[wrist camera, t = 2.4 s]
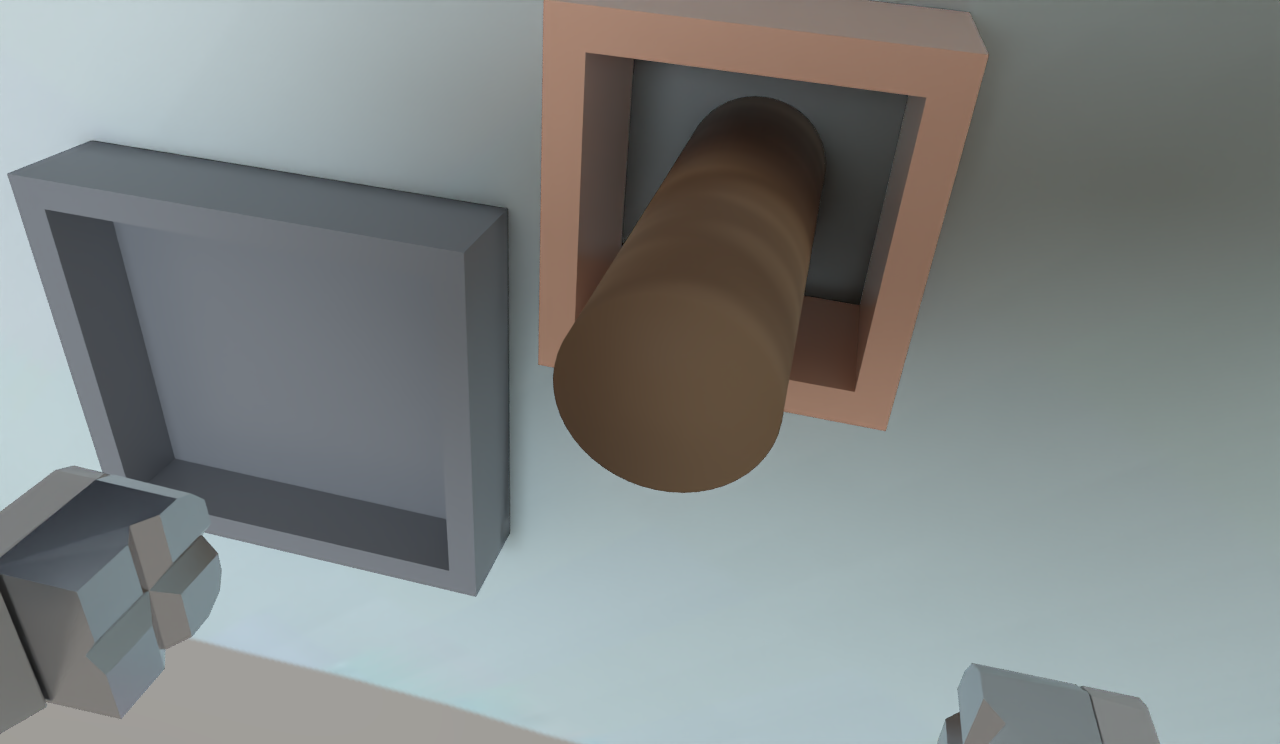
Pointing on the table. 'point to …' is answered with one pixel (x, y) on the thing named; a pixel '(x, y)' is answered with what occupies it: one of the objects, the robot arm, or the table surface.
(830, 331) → the peach square frame
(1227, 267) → the table surface
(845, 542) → the table surface
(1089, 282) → the table surface
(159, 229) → the tray
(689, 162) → the dowel
